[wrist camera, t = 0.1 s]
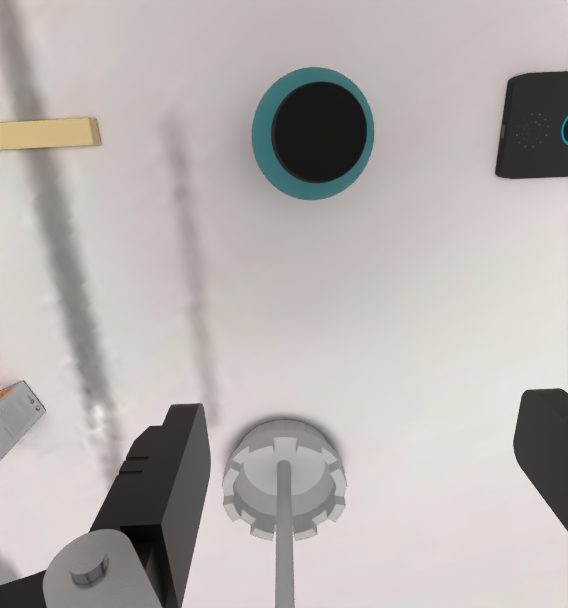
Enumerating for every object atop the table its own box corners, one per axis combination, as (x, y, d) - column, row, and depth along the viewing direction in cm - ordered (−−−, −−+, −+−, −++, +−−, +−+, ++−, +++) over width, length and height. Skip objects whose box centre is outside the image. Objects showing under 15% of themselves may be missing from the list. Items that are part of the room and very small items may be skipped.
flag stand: (337, 502, 50) (408, 957, 22) (229, 501, 50) (162, 958, 22) (344, 412, 45) (445, 844, 17) (225, 411, 45) (133, 845, 17)
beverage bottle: (267, 185, 37) (252, 228, 18) (257, 102, 34) (226, 53, 16) (341, 176, 36) (403, 209, 18) (335, 92, 34) (400, 29, 15)
